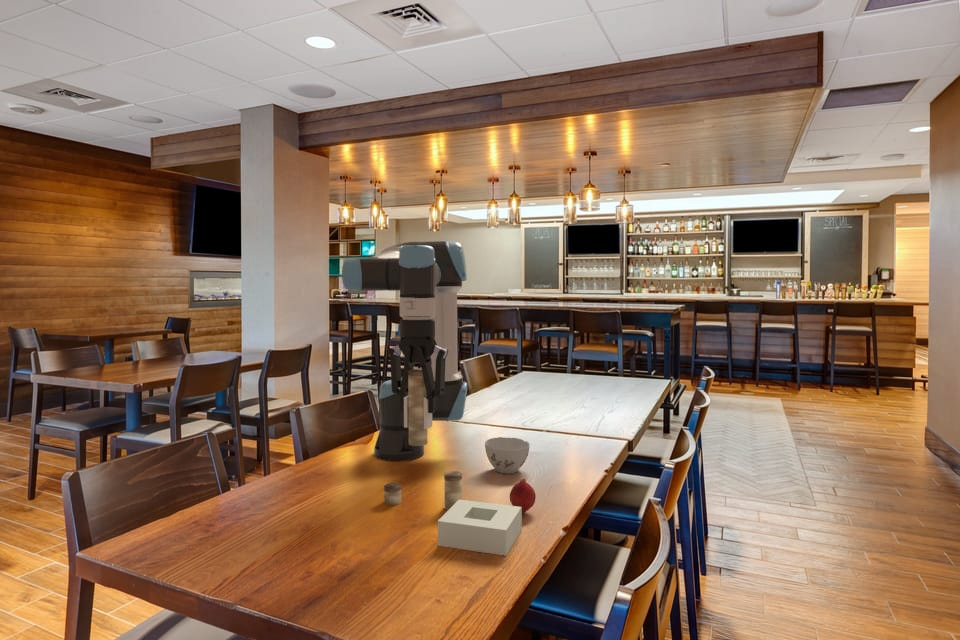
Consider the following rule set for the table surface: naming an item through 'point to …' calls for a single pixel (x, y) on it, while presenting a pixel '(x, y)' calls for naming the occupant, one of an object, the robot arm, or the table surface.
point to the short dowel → (392, 493)
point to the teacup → (507, 453)
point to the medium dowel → (452, 488)
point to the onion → (522, 495)
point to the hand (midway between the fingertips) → (418, 426)
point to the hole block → (480, 527)
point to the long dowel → (416, 407)
